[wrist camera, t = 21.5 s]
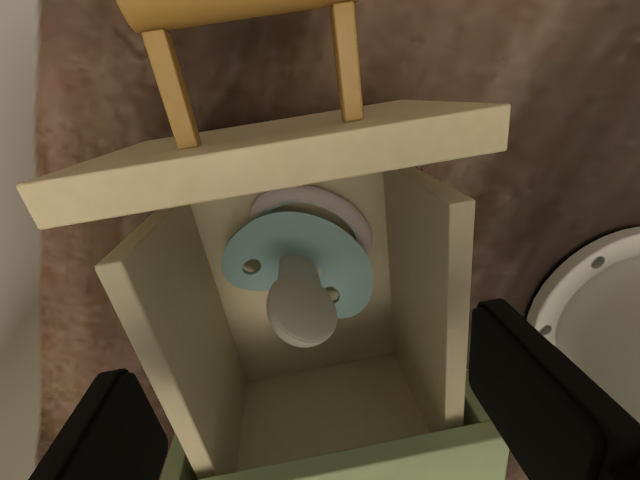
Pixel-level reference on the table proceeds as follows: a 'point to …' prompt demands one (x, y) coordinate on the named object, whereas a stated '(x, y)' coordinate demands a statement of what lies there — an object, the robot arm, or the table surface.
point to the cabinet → (387, 456)
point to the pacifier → (303, 262)
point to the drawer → (250, 306)
